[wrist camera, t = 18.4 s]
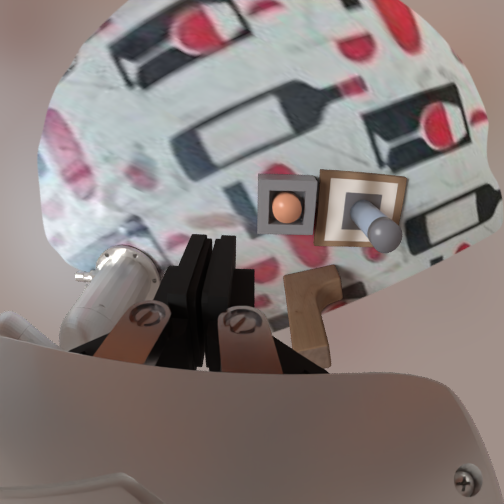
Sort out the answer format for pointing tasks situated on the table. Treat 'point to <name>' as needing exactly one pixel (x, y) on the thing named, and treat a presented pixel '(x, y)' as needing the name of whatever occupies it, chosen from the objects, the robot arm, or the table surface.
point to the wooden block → (311, 310)
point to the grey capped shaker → (376, 226)
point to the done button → (286, 207)
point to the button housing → (298, 185)
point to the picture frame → (343, 198)
